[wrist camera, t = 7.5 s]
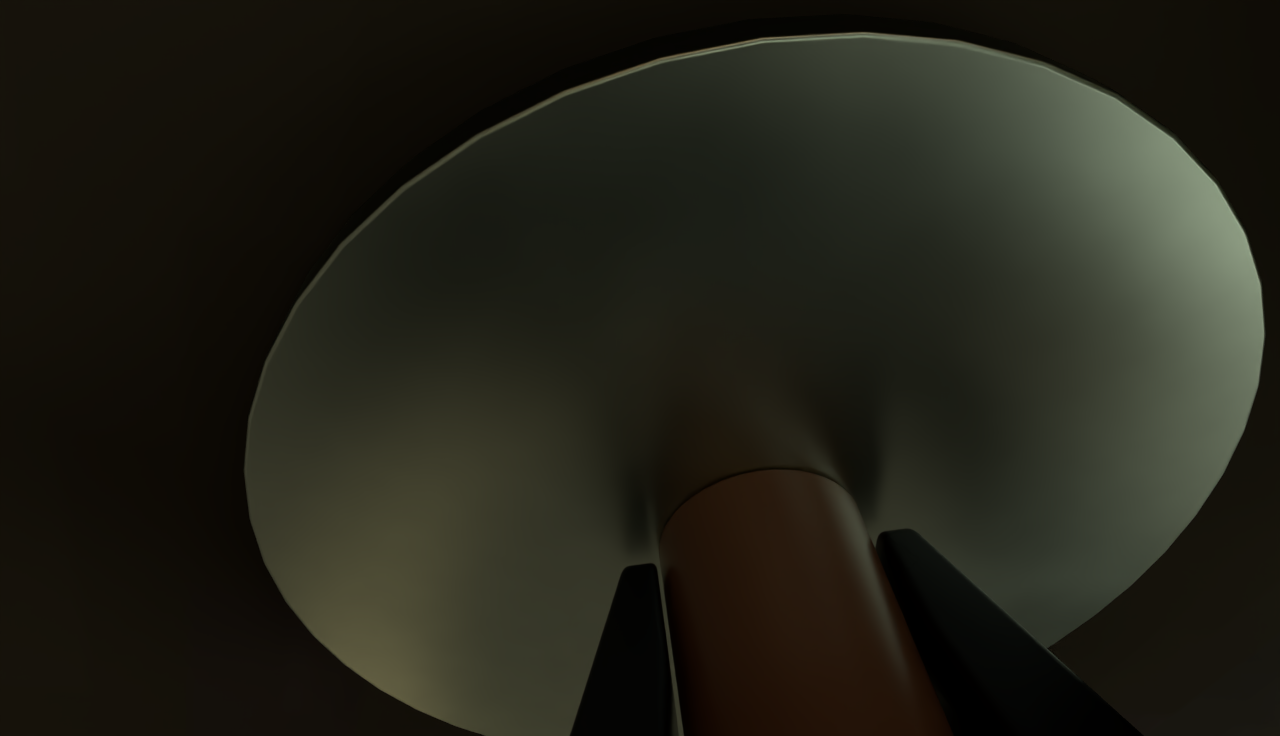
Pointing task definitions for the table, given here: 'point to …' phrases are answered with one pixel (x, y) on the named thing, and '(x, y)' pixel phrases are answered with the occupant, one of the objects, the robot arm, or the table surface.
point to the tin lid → (751, 374)
